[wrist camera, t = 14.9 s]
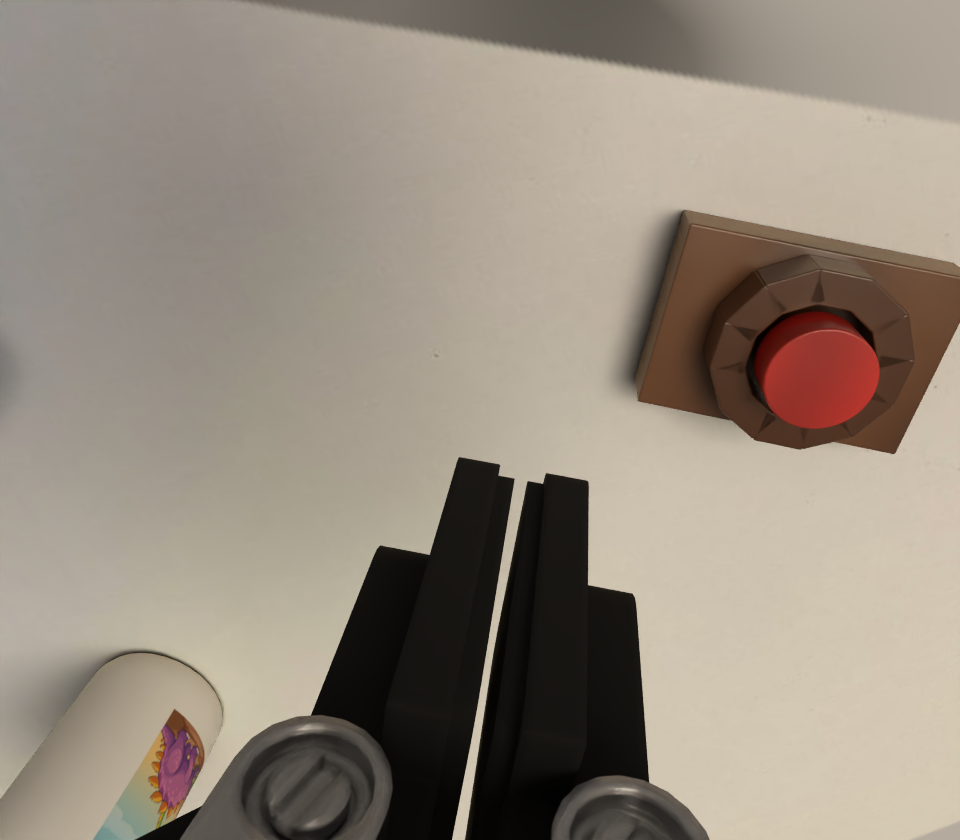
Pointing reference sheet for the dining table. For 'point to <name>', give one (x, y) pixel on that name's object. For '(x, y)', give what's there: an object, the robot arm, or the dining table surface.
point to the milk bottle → (117, 755)
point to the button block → (777, 296)
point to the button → (816, 370)
